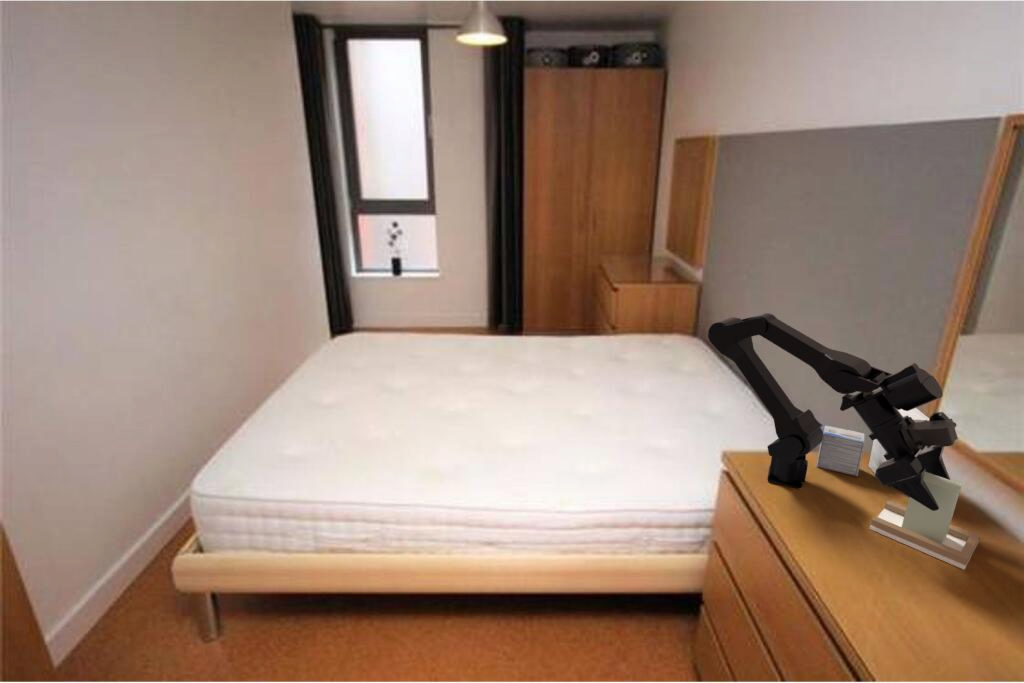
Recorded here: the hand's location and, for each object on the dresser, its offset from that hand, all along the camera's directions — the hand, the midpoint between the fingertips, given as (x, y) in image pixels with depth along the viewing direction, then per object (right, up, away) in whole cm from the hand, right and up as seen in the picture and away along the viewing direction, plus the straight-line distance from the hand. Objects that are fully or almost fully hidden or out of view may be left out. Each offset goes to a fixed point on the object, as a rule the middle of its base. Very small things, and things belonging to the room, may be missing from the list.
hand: (943, 499), depth 93 cm
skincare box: (+6, -2, +22) cm, 23 cm away
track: (-1, -8, +4) cm, 9 cm away
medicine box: (-3, -1, +26) cm, 26 cm away
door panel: (-1, -7, +4) cm, 8 cm away
